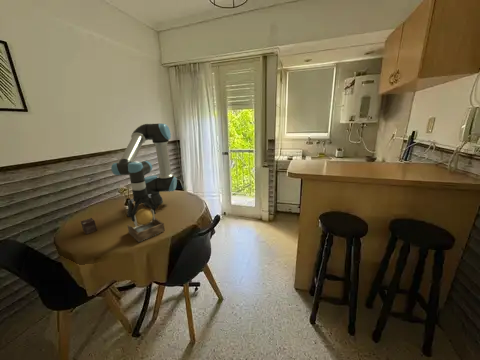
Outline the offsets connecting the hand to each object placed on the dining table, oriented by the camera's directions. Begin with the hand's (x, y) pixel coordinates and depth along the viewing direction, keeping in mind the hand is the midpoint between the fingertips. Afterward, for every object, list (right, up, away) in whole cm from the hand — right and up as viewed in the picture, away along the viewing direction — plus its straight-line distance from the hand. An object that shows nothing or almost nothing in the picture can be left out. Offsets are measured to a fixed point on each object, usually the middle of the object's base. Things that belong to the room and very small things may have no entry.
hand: (145, 222), depth 125 cm
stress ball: (0, -1, 0) cm, 1 cm away
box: (-37, -7, +5) cm, 38 cm away
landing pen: (0, -6, +2) cm, 7 cm away
